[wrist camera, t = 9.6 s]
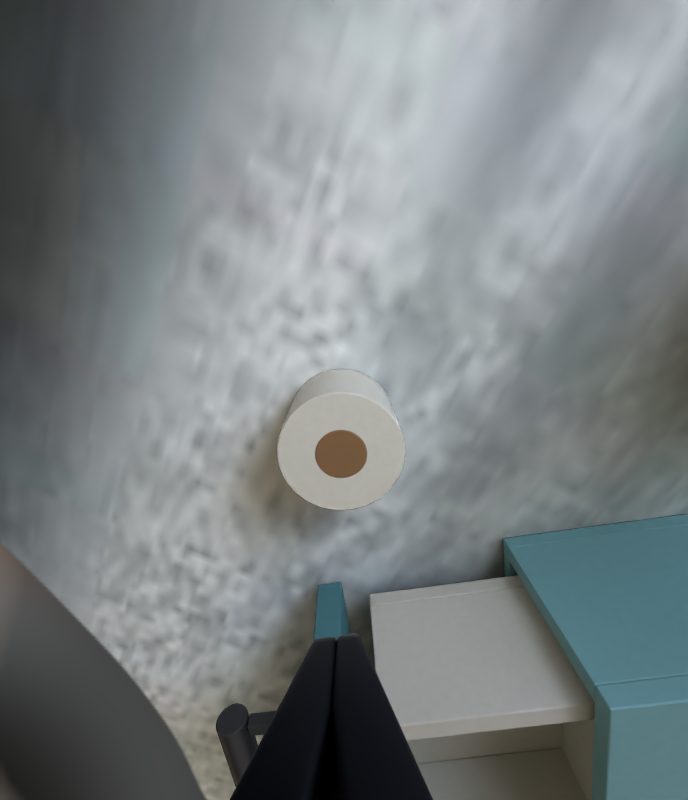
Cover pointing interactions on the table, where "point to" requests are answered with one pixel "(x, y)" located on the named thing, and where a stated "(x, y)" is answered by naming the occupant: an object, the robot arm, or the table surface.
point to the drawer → (464, 692)
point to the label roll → (341, 441)
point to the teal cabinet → (621, 642)
